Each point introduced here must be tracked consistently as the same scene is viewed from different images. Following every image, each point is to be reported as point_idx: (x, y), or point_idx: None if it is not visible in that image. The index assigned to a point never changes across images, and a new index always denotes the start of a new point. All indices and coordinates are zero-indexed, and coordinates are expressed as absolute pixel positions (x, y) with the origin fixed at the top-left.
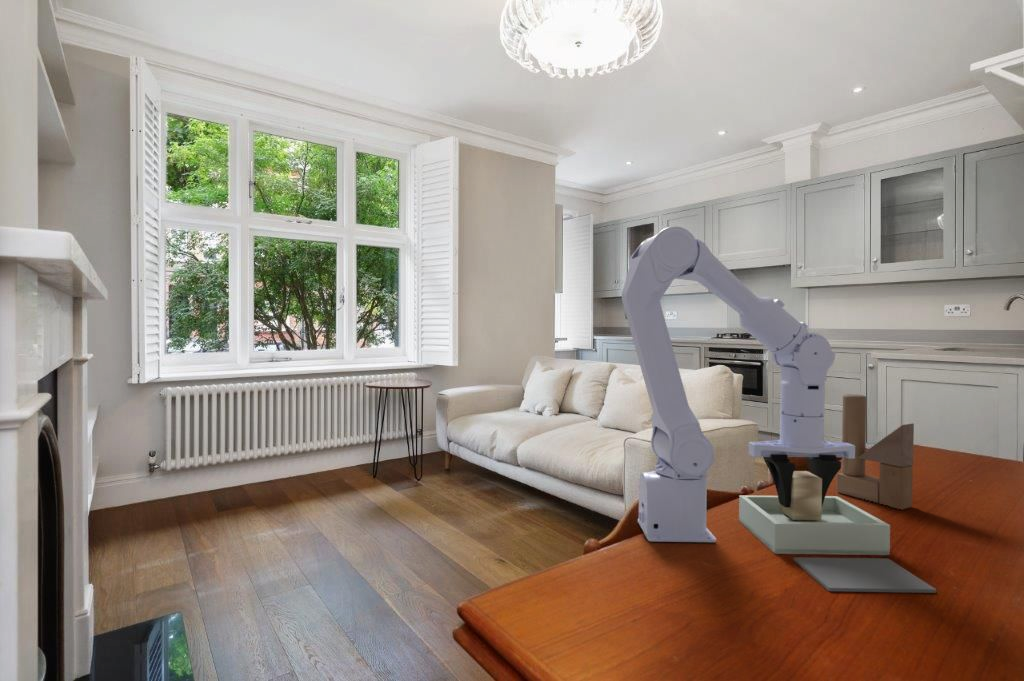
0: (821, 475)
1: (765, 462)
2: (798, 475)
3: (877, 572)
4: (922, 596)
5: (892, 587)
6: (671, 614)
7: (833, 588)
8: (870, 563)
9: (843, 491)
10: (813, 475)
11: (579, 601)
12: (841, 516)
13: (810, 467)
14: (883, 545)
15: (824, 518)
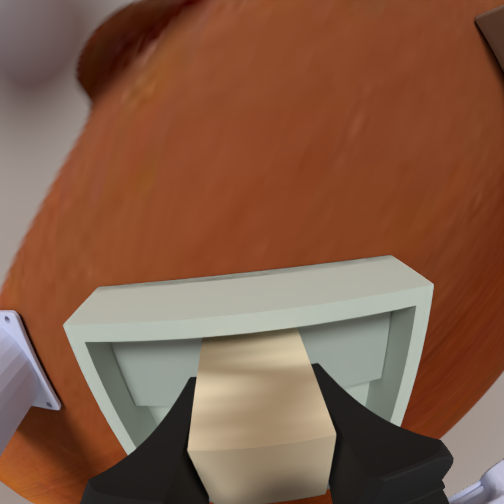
0: (333, 494)
1: (102, 474)
2: (250, 486)
3: None
4: None
5: None
6: (64, 495)
7: (211, 501)
8: None
9: (487, 33)
10: (319, 476)
11: (6, 468)
12: (382, 333)
13: (347, 460)
14: None
15: (324, 359)
